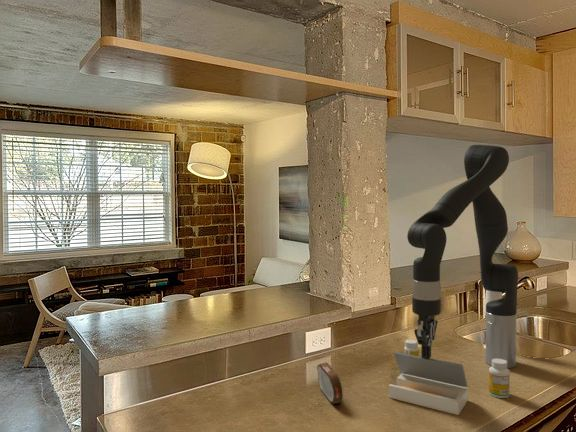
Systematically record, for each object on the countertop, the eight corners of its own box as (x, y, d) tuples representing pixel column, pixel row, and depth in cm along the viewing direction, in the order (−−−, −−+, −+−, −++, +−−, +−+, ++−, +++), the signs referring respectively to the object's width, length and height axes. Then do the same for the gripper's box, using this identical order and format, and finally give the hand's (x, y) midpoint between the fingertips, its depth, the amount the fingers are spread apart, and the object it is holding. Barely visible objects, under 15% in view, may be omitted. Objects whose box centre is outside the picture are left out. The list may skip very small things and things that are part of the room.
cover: (400, 373, 138) (401, 370, 139) (467, 387, 127) (467, 384, 128) (393, 353, 133) (394, 350, 134) (462, 366, 122) (462, 363, 123)
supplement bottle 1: (421, 365, 153) (421, 340, 153) (415, 370, 150) (415, 344, 149) (407, 362, 156) (407, 338, 156) (401, 366, 153) (401, 341, 152)
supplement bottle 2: (491, 388, 135) (492, 356, 135) (511, 393, 132) (512, 360, 131) (486, 395, 131) (486, 361, 130) (506, 400, 128) (507, 366, 127)
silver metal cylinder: (507, 348, 168) (508, 283, 166) (494, 352, 165) (495, 285, 163) (492, 343, 174) (492, 280, 172) (479, 346, 171) (479, 282, 170)
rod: (399, 390, 134) (397, 382, 133) (445, 400, 127) (444, 392, 126) (396, 398, 132) (394, 390, 130) (443, 408, 125) (442, 400, 124)
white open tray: (401, 384, 139) (401, 373, 139) (467, 400, 128) (467, 387, 128) (388, 397, 131) (388, 385, 130) (458, 415, 120) (458, 401, 120)
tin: (343, 408, 125) (343, 377, 124) (332, 409, 124) (332, 378, 124) (325, 385, 140) (325, 358, 139) (315, 386, 139) (315, 359, 138)
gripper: (432, 302, 119) (432, 368, 120) (447, 292, 130) (447, 353, 131) (404, 299, 123) (404, 363, 124) (420, 289, 134) (420, 348, 135)
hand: (426, 358), depth 128 cm, fingers closed
